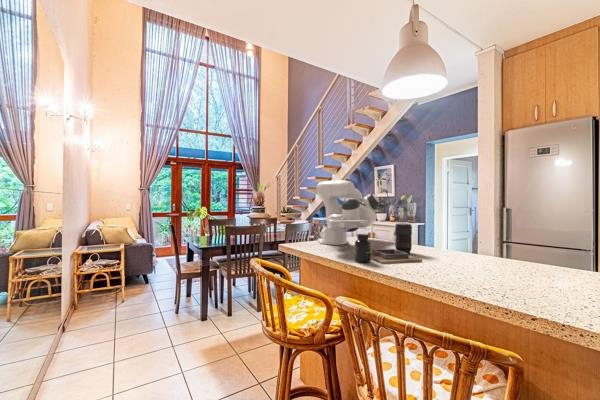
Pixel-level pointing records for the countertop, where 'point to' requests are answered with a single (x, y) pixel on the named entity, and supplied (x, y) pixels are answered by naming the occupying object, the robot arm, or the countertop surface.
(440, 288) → the countertop surface
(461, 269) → the countertop surface
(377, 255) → the collar dock
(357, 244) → the supplement bottle
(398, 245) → the camera lens
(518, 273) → the countertop surface
